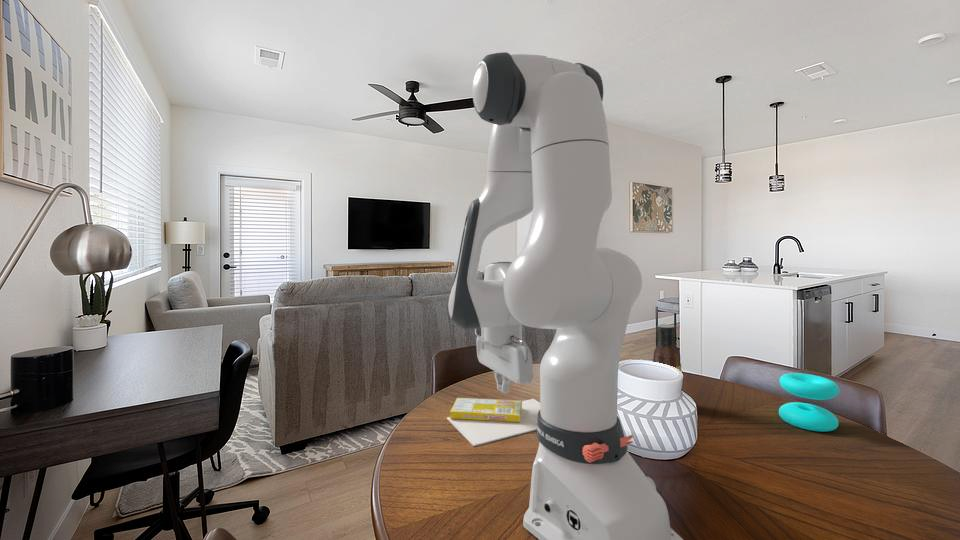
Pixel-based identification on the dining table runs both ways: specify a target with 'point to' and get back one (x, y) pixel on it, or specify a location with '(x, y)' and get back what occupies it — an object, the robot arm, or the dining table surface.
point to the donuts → (804, 412)
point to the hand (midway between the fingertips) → (503, 391)
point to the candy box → (486, 409)
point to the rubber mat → (498, 425)
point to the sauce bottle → (667, 347)
